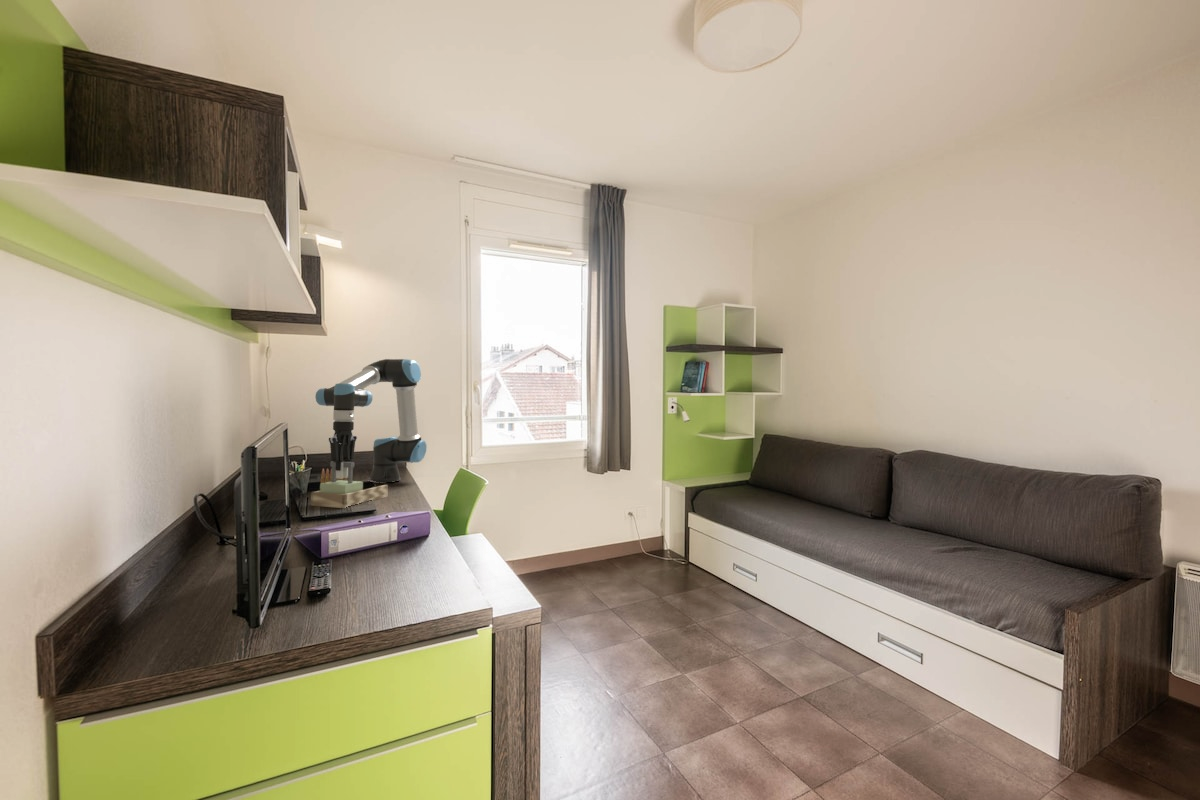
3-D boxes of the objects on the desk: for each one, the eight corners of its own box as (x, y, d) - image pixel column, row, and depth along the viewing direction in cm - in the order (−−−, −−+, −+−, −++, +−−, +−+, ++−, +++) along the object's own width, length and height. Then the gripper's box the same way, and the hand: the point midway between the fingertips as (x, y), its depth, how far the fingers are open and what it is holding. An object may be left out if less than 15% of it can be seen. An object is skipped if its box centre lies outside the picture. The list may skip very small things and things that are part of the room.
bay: (356, 494, 223) (357, 482, 223) (387, 496, 219) (387, 484, 219) (310, 505, 197) (310, 492, 197) (344, 508, 194) (344, 495, 194)
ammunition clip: (346, 494, 223) (347, 467, 223) (345, 494, 221) (346, 468, 221) (320, 494, 221) (321, 467, 221) (319, 495, 219) (320, 468, 219)
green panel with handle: (338, 496, 209) (339, 460, 209) (362, 498, 206) (363, 461, 206) (319, 500, 199) (320, 462, 199) (344, 502, 196) (345, 464, 197)
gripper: (337, 421, 195) (335, 481, 195) (364, 420, 210) (362, 475, 209) (321, 421, 197) (320, 480, 196) (349, 420, 211) (347, 475, 211)
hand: (342, 477), depth 203 cm, fingers closed on green panel with handle, 2 cm apart
